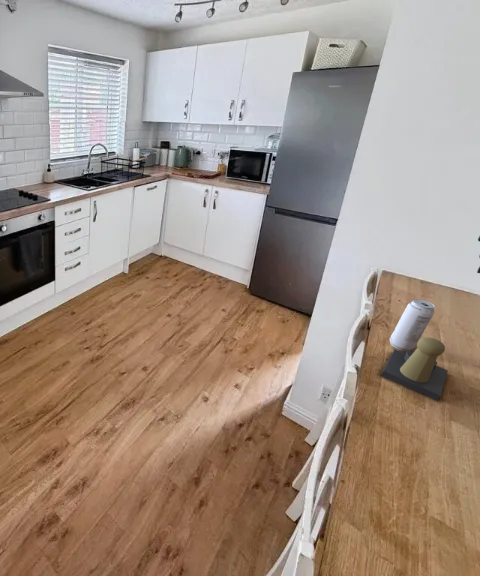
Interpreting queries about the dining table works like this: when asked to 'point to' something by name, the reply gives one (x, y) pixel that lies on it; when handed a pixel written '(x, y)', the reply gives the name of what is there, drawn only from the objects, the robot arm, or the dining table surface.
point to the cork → (423, 359)
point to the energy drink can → (412, 324)
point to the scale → (428, 388)
